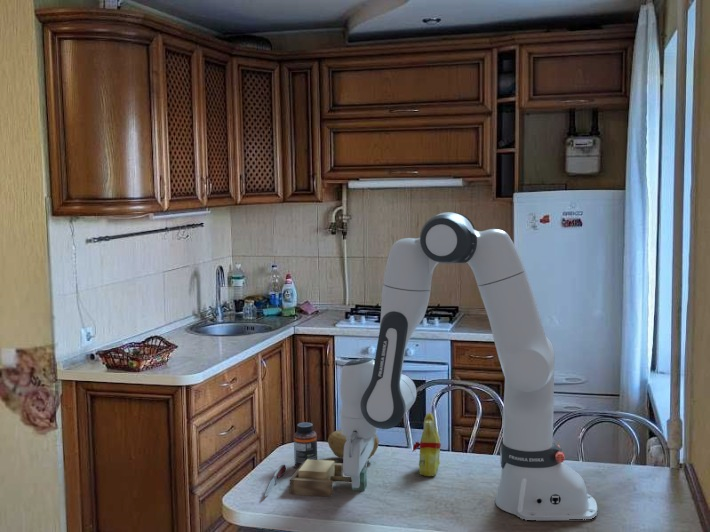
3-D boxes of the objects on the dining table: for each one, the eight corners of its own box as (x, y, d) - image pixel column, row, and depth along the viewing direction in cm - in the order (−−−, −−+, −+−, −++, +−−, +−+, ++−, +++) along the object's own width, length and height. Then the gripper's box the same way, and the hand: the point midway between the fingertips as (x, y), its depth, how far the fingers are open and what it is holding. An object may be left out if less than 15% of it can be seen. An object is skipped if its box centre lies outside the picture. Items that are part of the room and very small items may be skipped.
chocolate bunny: (442, 463, 214) (442, 407, 212) (437, 478, 203) (437, 419, 201) (416, 461, 215) (416, 406, 214) (410, 476, 205) (409, 418, 203)
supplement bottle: (305, 461, 217) (304, 419, 215) (322, 466, 213) (321, 423, 212) (289, 467, 212) (288, 424, 211) (306, 472, 208) (305, 429, 207)
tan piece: (342, 476, 205) (342, 463, 204) (331, 496, 192) (330, 482, 192) (304, 474, 207) (304, 460, 206) (289, 493, 194) (289, 479, 194)
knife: (282, 471, 210) (281, 460, 210) (286, 472, 210) (286, 460, 209) (262, 502, 190) (261, 490, 190) (267, 503, 190) (267, 490, 189)
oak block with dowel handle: (368, 482, 201) (368, 462, 200) (362, 494, 193) (362, 474, 193) (307, 478, 204) (307, 459, 204) (298, 490, 196) (298, 470, 196)
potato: (337, 451, 224) (337, 422, 224) (384, 458, 218) (384, 428, 218) (320, 462, 216) (320, 432, 215) (369, 469, 210) (369, 439, 209)
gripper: (363, 439, 185) (363, 498, 186) (378, 414, 205) (379, 467, 206) (336, 438, 186) (336, 496, 188) (354, 412, 206) (354, 466, 208)
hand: (359, 481), depth 197 cm, fingers open, 6 cm apart
